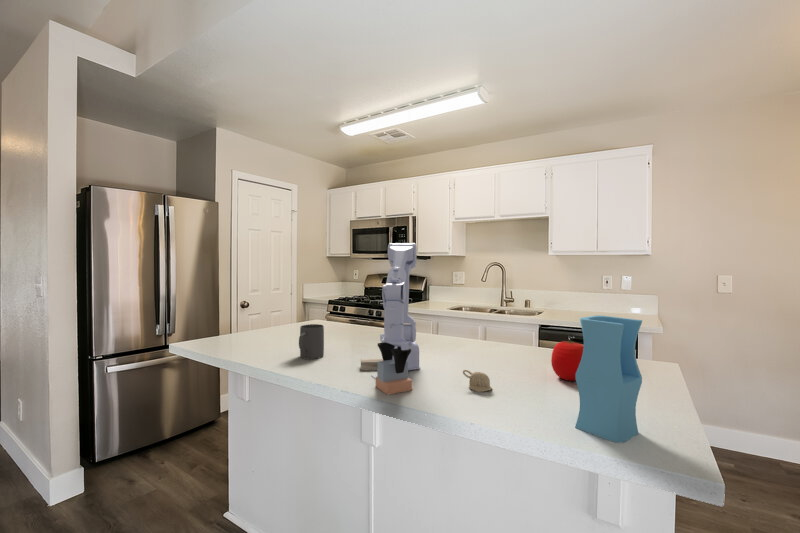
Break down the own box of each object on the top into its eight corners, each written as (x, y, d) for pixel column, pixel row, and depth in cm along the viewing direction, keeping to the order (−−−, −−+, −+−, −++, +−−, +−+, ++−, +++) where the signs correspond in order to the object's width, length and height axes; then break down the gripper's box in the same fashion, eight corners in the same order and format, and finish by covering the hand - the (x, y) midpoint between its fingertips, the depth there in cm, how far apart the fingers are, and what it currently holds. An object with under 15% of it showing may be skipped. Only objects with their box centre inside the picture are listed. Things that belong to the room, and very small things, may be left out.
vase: (620, 444, 79) (622, 324, 78) (574, 427, 87) (576, 318, 86) (641, 432, 84) (642, 320, 84) (596, 417, 92) (598, 314, 92)
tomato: (554, 371, 130) (554, 335, 130) (592, 377, 124) (592, 339, 124) (547, 381, 119) (548, 341, 119) (588, 388, 113) (589, 346, 113)
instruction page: (392, 372, 128) (392, 371, 128) (401, 377, 123) (401, 376, 123) (371, 375, 124) (371, 374, 124) (379, 381, 119) (379, 380, 119)
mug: (307, 352, 155) (307, 323, 154) (328, 354, 152) (328, 324, 152) (288, 361, 142) (288, 329, 141) (310, 363, 139) (310, 330, 139)
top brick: (401, 374, 116) (401, 358, 116) (407, 378, 112) (407, 361, 112) (377, 378, 112) (377, 361, 112) (383, 382, 109) (383, 364, 108)
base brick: (399, 382, 118) (399, 372, 118) (411, 390, 111) (412, 379, 111) (375, 386, 114) (375, 376, 114) (387, 394, 107) (387, 384, 107)
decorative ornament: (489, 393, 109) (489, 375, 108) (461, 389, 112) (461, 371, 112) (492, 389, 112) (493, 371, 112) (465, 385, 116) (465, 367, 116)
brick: (360, 367, 135) (360, 359, 135) (383, 367, 136) (383, 358, 136) (361, 371, 131) (361, 362, 131) (384, 370, 132) (384, 361, 132)
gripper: (371, 321, 117) (371, 365, 117) (393, 328, 104) (392, 378, 104) (391, 319, 120) (391, 362, 120) (415, 326, 107) (414, 374, 107)
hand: (393, 369), depth 112 cm, fingers open, 7 cm apart
